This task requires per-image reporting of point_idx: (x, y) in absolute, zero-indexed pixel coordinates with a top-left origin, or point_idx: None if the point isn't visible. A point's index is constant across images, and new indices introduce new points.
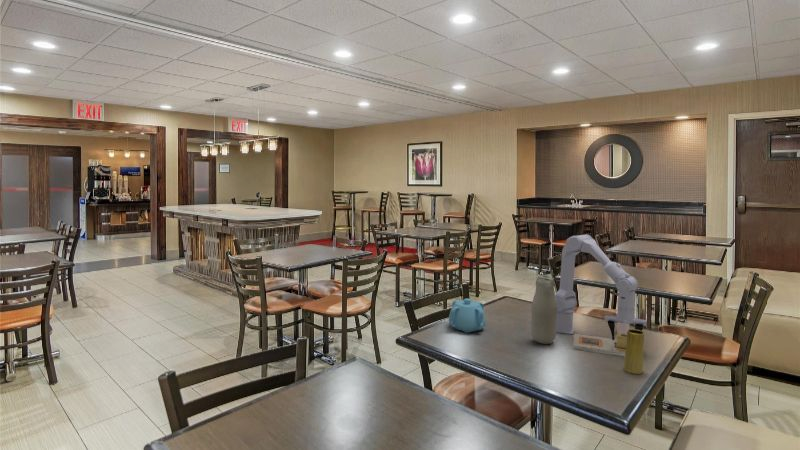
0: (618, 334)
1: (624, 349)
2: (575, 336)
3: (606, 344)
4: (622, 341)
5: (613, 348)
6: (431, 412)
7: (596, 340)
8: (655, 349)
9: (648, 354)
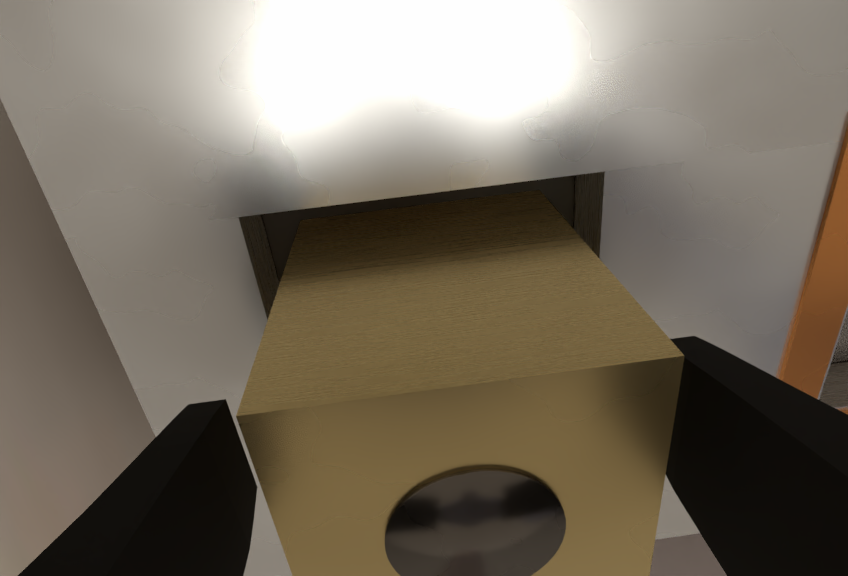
0: (621, 524)
1: (411, 173)
2: None
3: (738, 272)
4: (488, 304)
5: (637, 107)
6: None
7: (845, 398)
8: (25, 544)
9: (27, 316)
